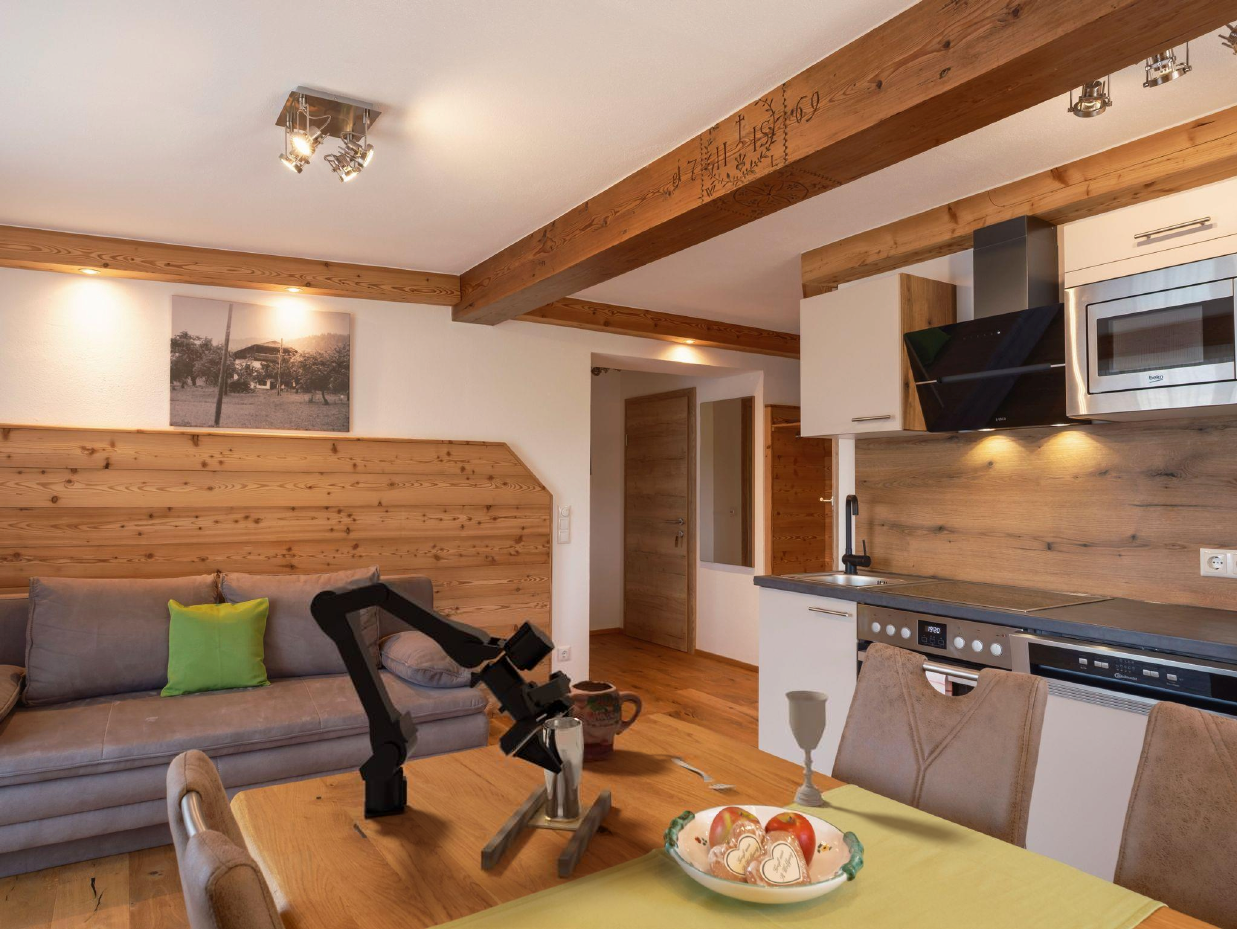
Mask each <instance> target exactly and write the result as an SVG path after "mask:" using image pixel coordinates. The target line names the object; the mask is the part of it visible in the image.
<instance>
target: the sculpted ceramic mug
mask: <svg viewBox="0 0 1237 929" xmlns="http://www.w3.org/2000/svg"><path fill="white" fill-rule="evenodd" d="M569 687H570V689H571V691H572V692H571V693H568V694H566V695H569V696H570V698H571V699H572V700H573V701H574V702H575V704H574V705H573V706H572V707H574V711H573V715H572V718H576V719H579V720H581V721H582V728H583V740H584V756H583V762H593V761H592V760H598V761H602V760H601V759H604V760H607V759H609V758H610V757H612V754H613V751H614V743H615V736H616V735H617V736H620V735H622V734H623V732H624V731H626V730H628V729H629V728H631V726H632V725H633V724H634V723H635V722H636V720H637V719H638V717H639V716H640V713H641V712H642V708H643V702H642V700H641V697H640V695H638V694H637V693H635V692H632V691H628V690H626V691H618V688H617V687H616V686H615V685H613V684H611V683H607V682H603V681H594V680H593V681H592V680H582V681H578V682H574V683H572V684H571V683H570V684H569ZM626 702H631V703H632V704H634V707H635V711H634V713H633V714H632V716H631V717H630V718H629V719H627V720H623V719H622V718H623V711H622V710H623V705H624V704H625V703H626ZM572 707H571V708H572ZM571 708H570V709H571ZM608 757H609V758H608ZM606 758H607V759H606Z"/></svg>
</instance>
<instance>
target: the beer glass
mask: <svg viewBox="0 0 1237 929" xmlns="http://www.w3.org/2000/svg"><path fill="white" fill-rule="evenodd" d="M543 736H544V742H545V743H546V745H547V746H548V748H549V749H550V751H551V752H552V754H553V755H554V757H555V758H556V760H557V761H558V763H559V764H560V766H561V768H562V771H561V772H560V773H559V774H555V773H553V772H551V771H549V770H547V769H544V768H543V774H544V779H545V784H546V785H545V786H547V801H546V802H545V803H546V808H545V817H546V818H547V819H549V820H552V821H557V822H566V821H572V820H575V819H577V818H579V817H580V816H581V806H580V805H581V802H580V785H581V784H580V783H581V782H580V781H581V777H582V771H583V766H584V765H583V763H584V761H583V756H584V740H583V728H582V721H581V720H579V719H576V718H569V717H560V718H552V719H549V720H546V721H545V722H543Z"/></svg>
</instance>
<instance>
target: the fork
mask: <svg viewBox="0 0 1237 929" xmlns="http://www.w3.org/2000/svg"><path fill="white" fill-rule="evenodd" d="M673 760H674V761H673ZM671 761H672V762H673V763H675V764H677V765H679V766H681V767H683V768H685V769H688V770H691V771H694V772H697V773H699V774H700V775H701V776H702V777H703V780H704V783H710V782H715V780H714V779H713V778H711V777H709V775H707V774H706V773H705V772H704V771H702V770H700V769H697V768H695V767H693V766H691V765H690V764H688V763H685V762H684V761H682V760H681V761H680V759H678V758H674V757H673V758H671ZM708 787H709V788H711V789H715V790H724V789H731V788H736V787H737V785H732V784H731V785H729V784H724V783H719V784H715V785H709V786H708Z"/></svg>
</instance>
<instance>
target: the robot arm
mask: <svg viewBox="0 0 1237 929" xmlns="http://www.w3.org/2000/svg"><path fill="white" fill-rule="evenodd" d="M371 607H372V608H373V607H379V608H381V609H383V610H384V611H385V612H387V613H389V614H391V615H392V616H394V617H395V618H397V619H399V620H400V621H401V622H403V623H405V624H407V625H408V626H410V627H412V628H413V629H415V630H417V631H418V632H420V633H422V634H423V635H425V636H426V637H429V638H430V639H431V640H432V641H434V642H435V643H436V644H438V645H439V647H440V648H441V650H442V651H443V652H444V653H445V654H446V655H447V656H448V657H449V658H450V659H452V661H454V662H455V663H456V664H457V665H458V666H460V667H461V668H463V669H466V670H471V669H475V668H478V667H479V666H481V665H482V664H483V663H484V662H486V661H488V662H487V663H486V664H485V665H484V666H482V668H481V669H480V670H479V671H477V670H474V671H470V681H469V687H468V688H470V689H476V688H479V687H480V686H481V685H483V686H485V688H486V689H487V690H488V692H490V694H491V695H492V696H493V698H494V699H495V700H496V701H497V702H498V705H500V706H499V708H498V709H497V710H498V712H499V713H500V714H501V715H503V714H505V713H507V715H508V716H509V718H511V720H513V721H512V722H514V723H513V724H512V726H511V727H509V728H508V730H506V732H505V733H504V734H502V736H501V737H500V738H499V739H498V740H499V741H498V747H499V748H498V749H500V750H501V752H502V753H503V755H505V757H508V756H510V755H512V756H511V757H513V759H515V758H518V759H521V760H523V761H526V762H529V763H531V764H534V765H535V766H538V767H540V768H544V769H547V770H549V771H551V772H553V773H555V774H559V773H560V772H561V771H562V768H561V766H560V764H559V763H558V761H557V760H556V758H555V757H554V755H553V754H552V752H551V751H550V749H549V748H548V746H547V745H546V743H545V742H544V736H543V722H545V721H546V720H549V719H552V718H560V717H569V718H572V715H573V711H574V707H572V706H573V705H574V704H575V702H574V701H573V700H572V699H571V698H570V696H569V695H566V694H568V693H571V692H572V691H571V689H570V687H569V685H571V682H572V679H571V677H568V675H567V674H566V673H564V672H563V671H562V670H561V669H560V670H557V671H555V672H552V673H551V674H549V676H548V681H546V682H544V683H542V684H540V685H538V683H537V682H536V681H533V680H530V681H527V680H526V679H525V678H524V677H523V676H522V674H521V673H520V672H519V671H521V672H525V671H526V670H527V671H529V672H532V671H533V670H534V669H535V668H536V667H537V666H538V665H539V664H541V662H542V661H544V659H545V658H546V657H547V656H549V654H551V652H552V651H554V649H556V646H555V644H554V642H553V641H552V640H551V638H550V636H549V635H548V634H547V633H546V632H545V631H544V630H541V629H540V628H538V626H536V625H535V624H532V623H531V622H530V620H527V619H526V620H525V621H524V622H523V623H522V624H521V625H520V627H519V628H518V629H517V630H516V631H515V633H513V634H512V635H511V636H510V637H509V638H503V637H497V636H491V635H490V634H489V633H488V632H487V631H485V630H483V629H481V628H478V627H476V626H474V625H471V624H468V623H465V622H461V621H456V620H453V619H451V618H449V617H447V616H446V615H444V614H442V613H441V612H438V611H437V610H436V609H434V608H432V607H430V606H429V605H427V604H426V603H424V602H422V601H420V600H419V599H418V598H415V597H414V596H412V595H411V594H409V593H408V592H407V591H404V590H402V589H401V588H399V587H398V586H396V585H395V584H394V583H393V582H392V581H390V580H388V579H384V580H378V581H376V582H374V583H372V584H371V583H370V584H368V585H367V584H366V585H363V586H359V587H354V588H349V587H347V586H341V585H338V586H334V587H332V588H328V589H324V590H322V591H319V592H318V593H317V594H315V596H314V597H313V598H312V600H311V603H310V605H309V611H310V614H311V616H312V618H313V620H314V622H316V624H317V626H318V627H319V629H320V630H321V632H322V633H323V634H324V635H325V636H327V638H329V639H330V640H331V641H332V642H333V643H334V645H335V647H336V649H337V651H338V654H339V656H340V658H341V661H342V662H343V665H344V667H345V670H346V672H347V673H348V676H349V679H350V681H351V683H352V686H353V688H354V690H355V692H356V695H357V697H358V699H359V701H360V705H361V706H362V708H363V711H364V713H365V715H366V717H367V720H368V732H369V733H368V737H369V744H370V748H371V751H372V755H371V756H370V757H369V758H368V759H367V760H366V761H365V762H364V763H363V764H362V765H361V766H360V767H359V768H358V772H359V774H360V777H361V779H362V781H364V803H363V805H364V806H363V816H364V818H372V817H373V818H374V817H379V816H380V817H381V816H387V815H396V814H403V813H405V806H407V805H408V779H407V776H406V775H404V767H403V765H405V763H406V761H407V759H409V757H410V756H411V755H412V754H413V752H414V751H415V750H416V747H417V745H418V736H417V734H418V732H419V731H420V730H419V728H417V726H416V725H415V724H414V721H413V718H412V714H411V711H410V710H406V711H405V712H404V713H402V712H400V711H399V710H398V708H396V706H394V704H393V702H392V699H391V697H390V695H389V692H388V690H387V687H386V685H385V683H384V681H383V679H382V677H381V674H380V672H379V670H378V667H377V664H376V662H375V660H374V658H373V656H372V654H371V651H370V649H369V646H368V644H367V642H366V640H365V637H364V635H363V632H362V623H361V622H362V621H361V619H362V618H361V610H364V609H368V608H371ZM503 652H504V654H502V653H503ZM501 654H502V655H501ZM499 656H500V657H499ZM498 657H499V658H498ZM496 659H497V660H496ZM494 660H496V661H494ZM518 670H519V671H518ZM571 707H572V708H571ZM570 708H571V709H570ZM544 769H543V770H544Z"/></svg>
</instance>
